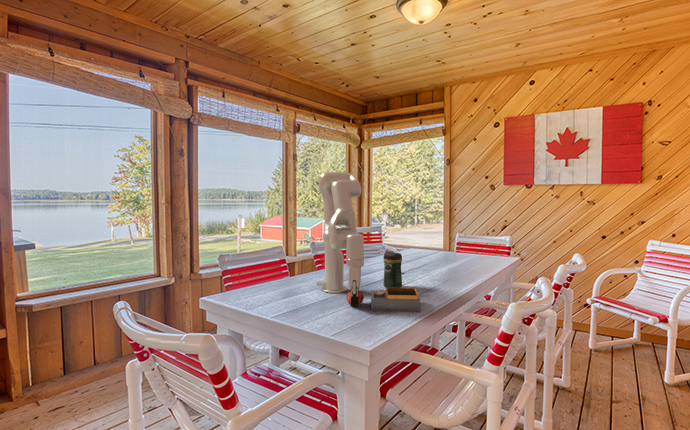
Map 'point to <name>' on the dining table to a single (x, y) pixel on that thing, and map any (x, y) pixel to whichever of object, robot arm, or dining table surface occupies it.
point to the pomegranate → (358, 295)
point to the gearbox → (395, 300)
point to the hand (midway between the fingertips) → (355, 302)
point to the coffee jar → (392, 270)
